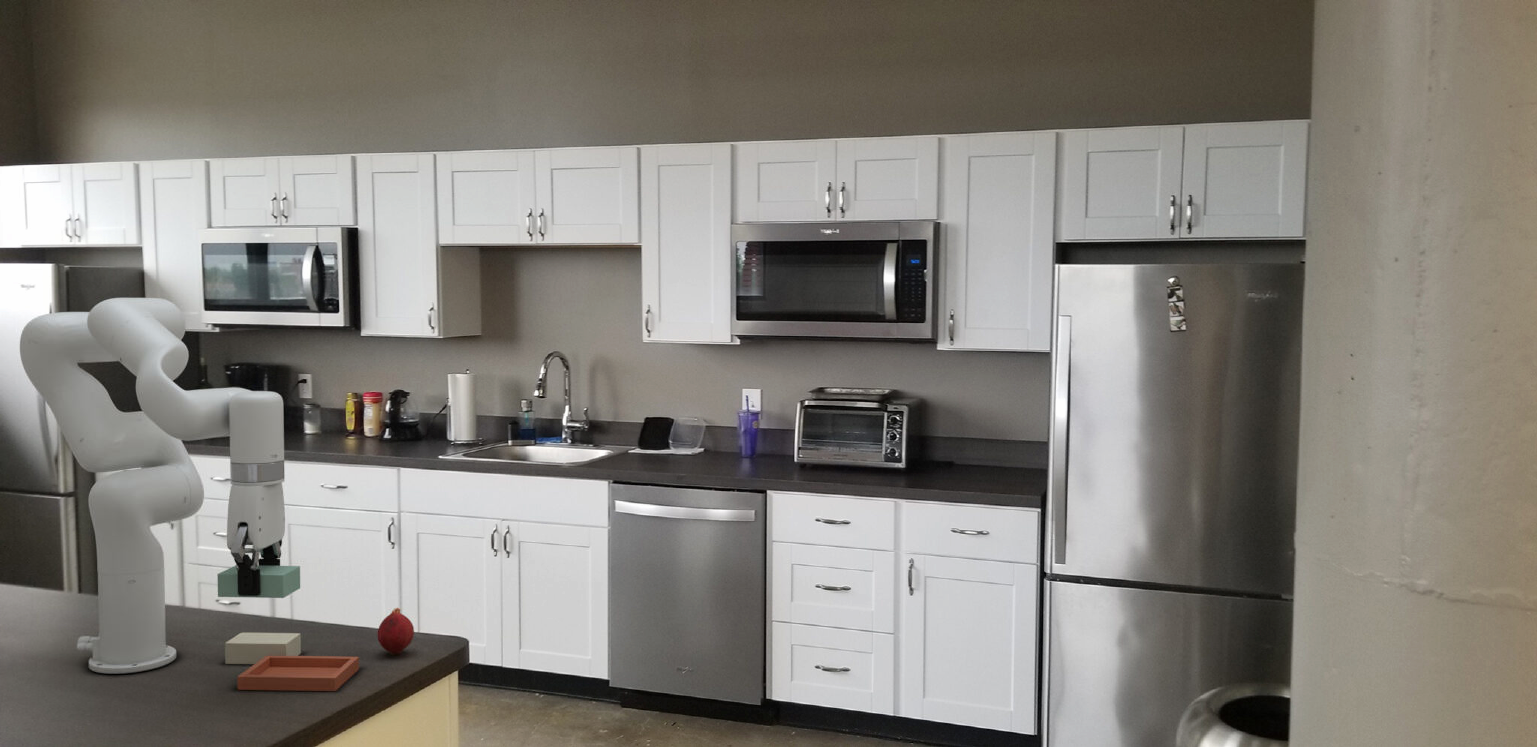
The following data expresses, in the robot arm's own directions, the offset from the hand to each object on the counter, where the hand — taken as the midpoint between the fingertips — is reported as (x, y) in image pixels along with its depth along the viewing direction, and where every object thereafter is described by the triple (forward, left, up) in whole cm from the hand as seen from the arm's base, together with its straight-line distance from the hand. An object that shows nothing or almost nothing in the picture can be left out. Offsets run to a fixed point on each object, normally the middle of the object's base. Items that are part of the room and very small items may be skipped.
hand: (259, 588), depth 177 cm
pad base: (0, 0, -1) cm, 1 cm away
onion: (+15, +18, -16) cm, 28 cm away
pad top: (-6, +15, -16) cm, 22 cm away
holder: (+4, +5, -16) cm, 17 cm away
